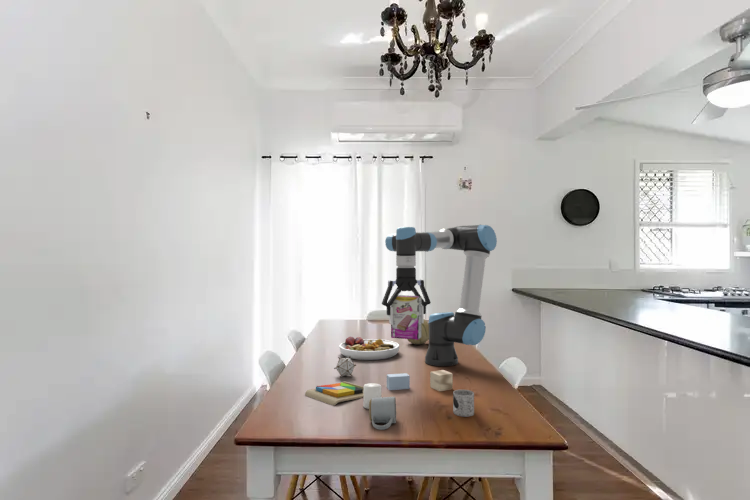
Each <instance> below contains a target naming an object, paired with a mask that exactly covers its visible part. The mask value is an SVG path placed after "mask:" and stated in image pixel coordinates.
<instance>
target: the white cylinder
mask: <svg viewBox="0 0 750 500" xmlns="http://www.w3.org/2000/svg"><path fill="white" fill-rule="evenodd" d="M363 387H364V397H363V398H362V399H363V403H362V405H363V408H365V409H367V410H369V401H370V399H373V398H381V397H382V385H381V384H380V383H374V382H373V383H371V382H370V383H364V385H363Z"/></svg>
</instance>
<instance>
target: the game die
mask: <svg viewBox="0 0 750 500" xmlns="http://www.w3.org/2000/svg"><path fill="white" fill-rule="evenodd" d="M337 358H338V361H337V363H336V367H334V368H333V369H334V370H336V371H337V372H338V373H339V375H340V376H339V378H340V379H341V378H342V377H343V376H345V377H346V376H351V377H353V371H354V368H355V367H356V366H357V364H354V362H353V360H352V359H351V358H350V356H349V358H348V357H343V358H342V357H341V358H340V357H339V356H338V357H337Z"/></svg>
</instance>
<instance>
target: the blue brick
mask: <svg viewBox="0 0 750 500" xmlns="http://www.w3.org/2000/svg"><path fill="white" fill-rule="evenodd" d="M410 378H411V377H410V375H409V374H408V373H407V372H405V373H404V372H403V373H390V374H388V373H387V374H386V388H387V390H388V391H396V390H397V391H398V390H399V391H400V390H409V389H410V388H411V387H410V384H411V383H410V382H411V381H410V380H411V379H410Z"/></svg>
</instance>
